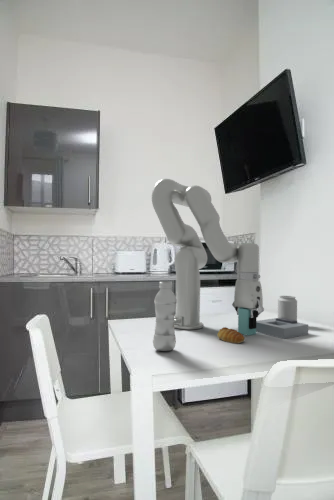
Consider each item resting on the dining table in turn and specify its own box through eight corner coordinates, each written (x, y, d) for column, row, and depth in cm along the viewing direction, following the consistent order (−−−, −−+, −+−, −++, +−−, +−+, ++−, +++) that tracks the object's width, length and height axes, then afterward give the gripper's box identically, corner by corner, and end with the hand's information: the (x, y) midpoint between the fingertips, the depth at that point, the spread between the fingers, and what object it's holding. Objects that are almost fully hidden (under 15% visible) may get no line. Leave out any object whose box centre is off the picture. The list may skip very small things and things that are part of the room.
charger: (247, 335, 115) (247, 309, 115) (238, 332, 119) (238, 307, 119) (256, 333, 118) (256, 308, 118) (246, 331, 121) (246, 306, 122)
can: (293, 323, 138) (294, 295, 138) (299, 327, 130) (299, 297, 131) (275, 323, 138) (276, 294, 139) (280, 326, 131) (280, 296, 131)
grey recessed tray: (284, 338, 111) (284, 326, 111) (252, 330, 123) (252, 319, 123) (308, 334, 119) (308, 322, 119) (276, 326, 130) (276, 316, 131)
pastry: (249, 342, 106) (249, 331, 106) (235, 346, 102) (235, 333, 102) (229, 336, 114) (229, 325, 114) (214, 339, 110) (214, 328, 110)
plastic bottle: (152, 347, 98) (153, 280, 98) (174, 347, 98) (175, 281, 99) (153, 353, 91) (154, 282, 92) (177, 353, 92) (178, 282, 92)
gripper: (273, 278, 114) (272, 330, 113) (238, 275, 128) (237, 322, 127) (259, 278, 110) (258, 333, 109) (224, 275, 124) (223, 323, 123)
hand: (247, 326), depth 118 cm, fingers closed on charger, 4 cm apart
